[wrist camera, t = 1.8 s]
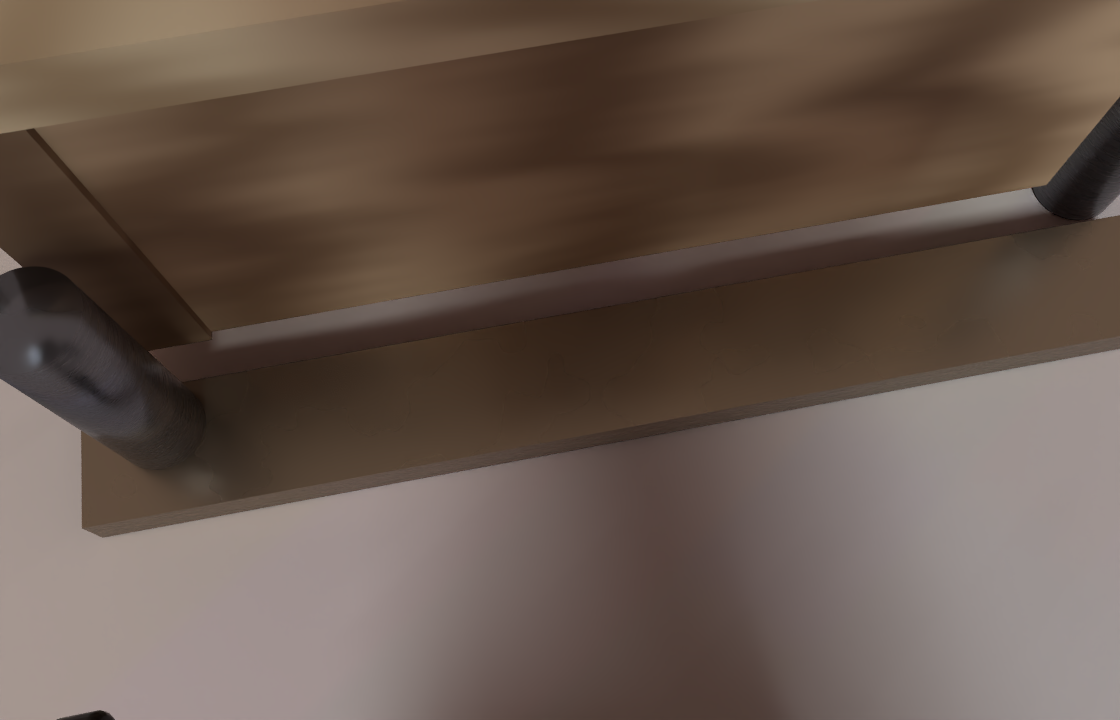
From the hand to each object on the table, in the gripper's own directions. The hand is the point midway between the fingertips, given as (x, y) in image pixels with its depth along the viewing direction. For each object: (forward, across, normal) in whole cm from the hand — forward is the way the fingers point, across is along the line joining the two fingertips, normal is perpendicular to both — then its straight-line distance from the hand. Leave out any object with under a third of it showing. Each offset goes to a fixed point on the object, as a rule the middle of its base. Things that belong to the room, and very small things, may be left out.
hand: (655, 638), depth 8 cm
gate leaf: (+16, -2, +1) cm, 16 cm away
